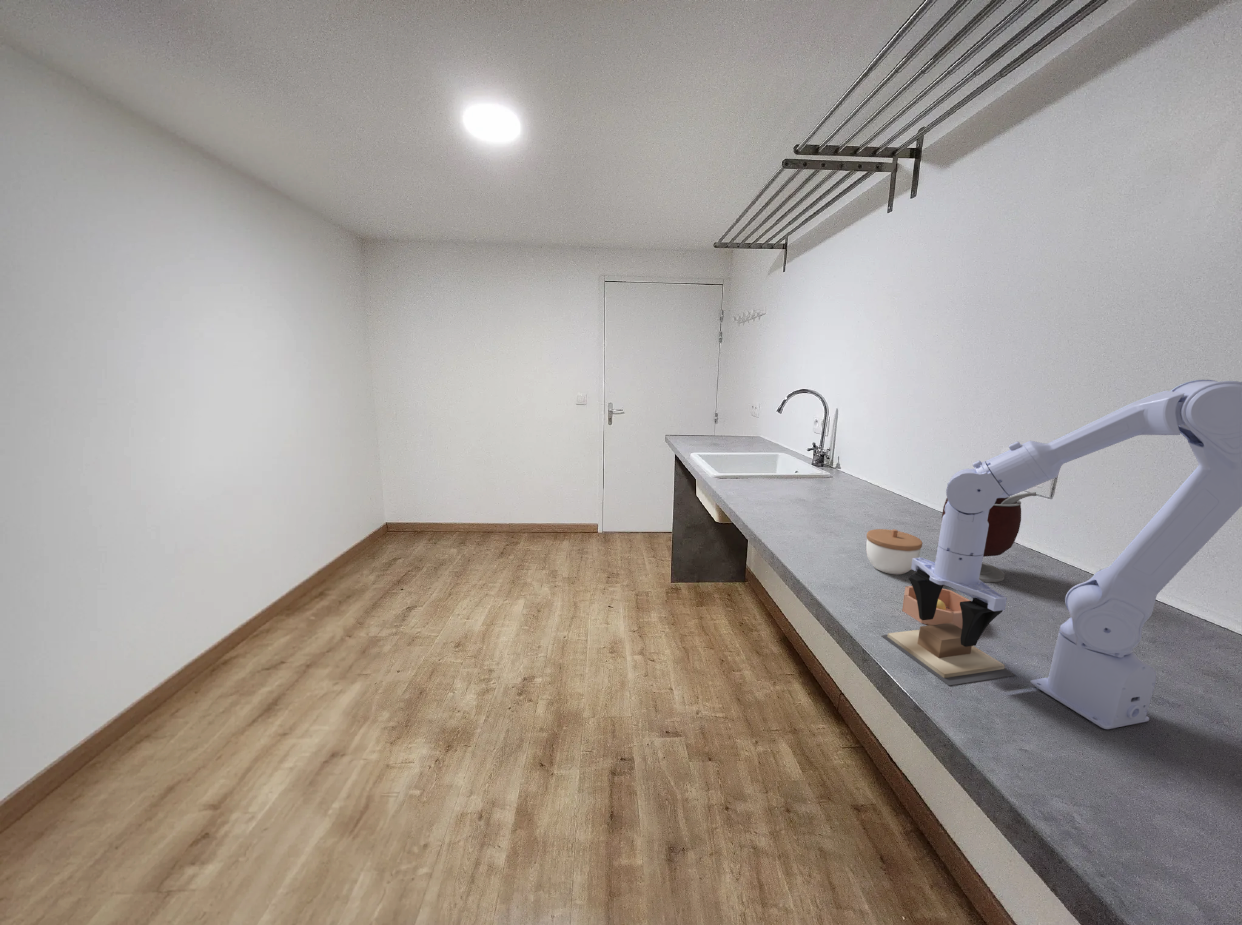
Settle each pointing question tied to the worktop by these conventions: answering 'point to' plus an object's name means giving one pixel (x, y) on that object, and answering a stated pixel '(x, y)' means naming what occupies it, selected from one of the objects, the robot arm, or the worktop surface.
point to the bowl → (941, 616)
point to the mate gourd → (1000, 532)
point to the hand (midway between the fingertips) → (946, 631)
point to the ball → (941, 605)
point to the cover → (945, 650)
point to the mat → (962, 678)
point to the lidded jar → (892, 550)
